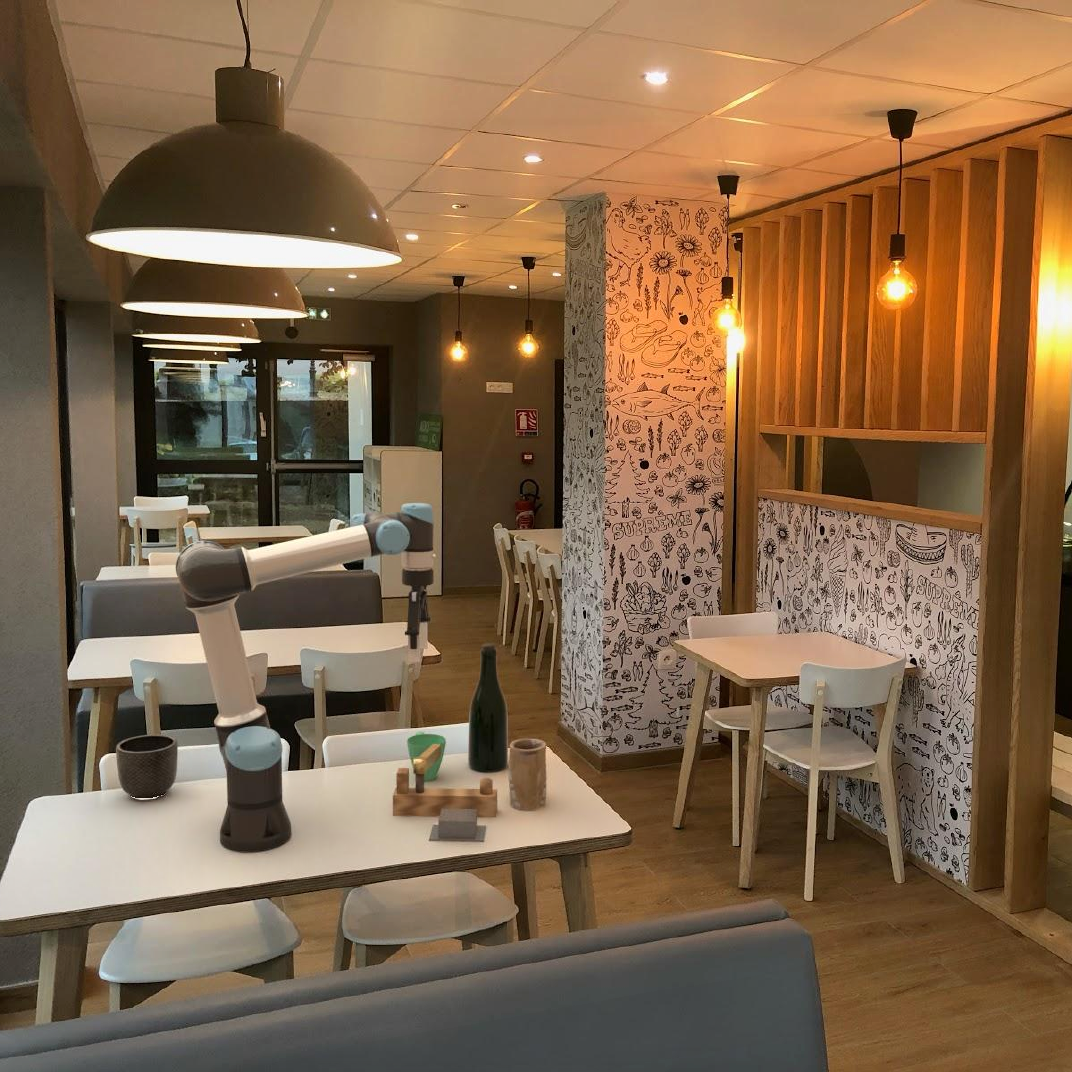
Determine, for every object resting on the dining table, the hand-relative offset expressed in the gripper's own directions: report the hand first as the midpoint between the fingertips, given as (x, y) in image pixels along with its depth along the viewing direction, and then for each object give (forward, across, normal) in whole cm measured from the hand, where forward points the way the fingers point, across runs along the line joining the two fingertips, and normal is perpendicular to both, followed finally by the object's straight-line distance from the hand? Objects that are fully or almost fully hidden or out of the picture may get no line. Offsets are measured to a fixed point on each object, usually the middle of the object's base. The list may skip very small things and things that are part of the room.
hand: (418, 655), depth 249 cm
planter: (+35, -4, +65) cm, 74 cm away
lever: (+25, -7, -3) cm, 26 cm away
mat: (+35, -24, -12) cm, 44 cm away
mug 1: (+35, +13, 0) cm, 37 cm away
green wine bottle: (+35, +20, -16) cm, 43 cm away
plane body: (+35, -12, -8) cm, 37 cm away
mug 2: (+35, -4, -26) cm, 44 cm away
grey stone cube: (+34, -24, -12) cm, 43 cm away
